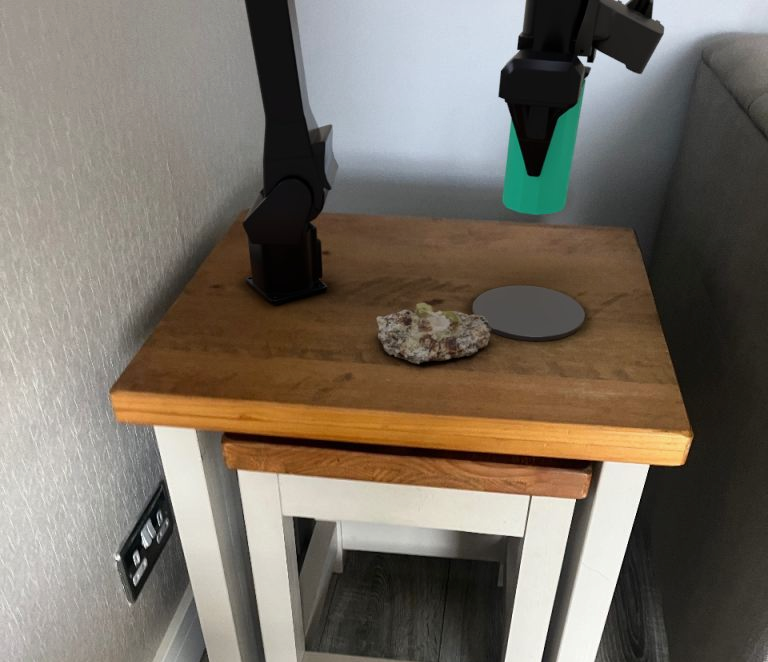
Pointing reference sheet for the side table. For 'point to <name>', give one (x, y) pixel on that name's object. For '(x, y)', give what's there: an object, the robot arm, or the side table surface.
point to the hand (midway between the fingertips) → (538, 164)
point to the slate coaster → (529, 313)
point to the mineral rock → (432, 334)
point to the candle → (543, 169)
